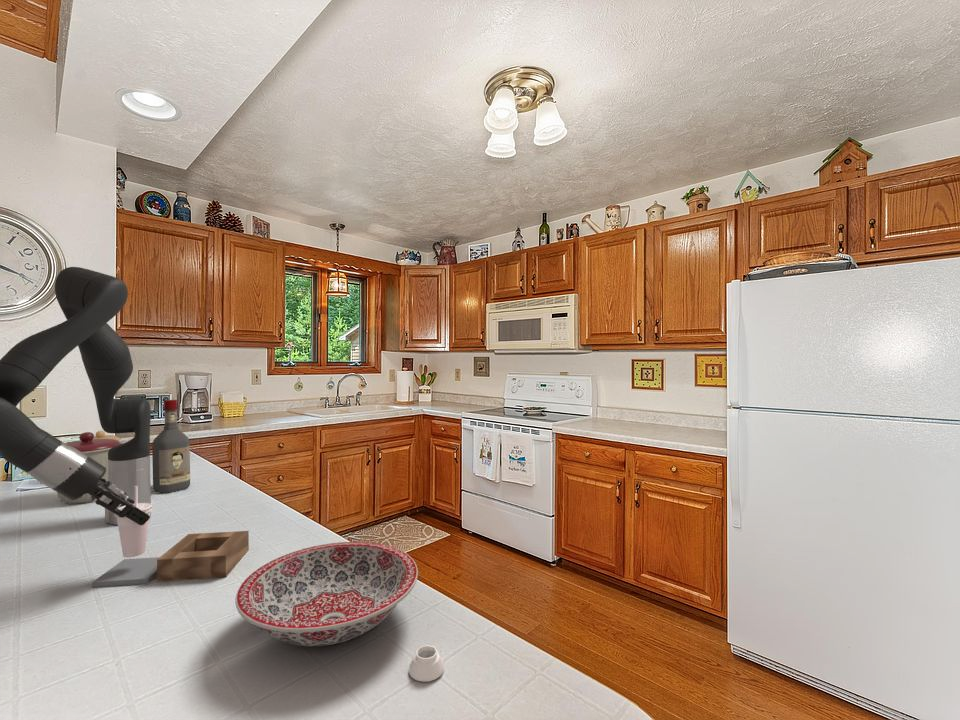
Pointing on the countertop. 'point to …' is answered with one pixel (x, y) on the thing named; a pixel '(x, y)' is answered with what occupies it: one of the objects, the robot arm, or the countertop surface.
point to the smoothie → (133, 530)
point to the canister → (95, 451)
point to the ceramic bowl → (326, 592)
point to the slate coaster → (129, 573)
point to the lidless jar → (426, 664)
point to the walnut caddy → (203, 556)
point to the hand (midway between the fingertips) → (143, 516)
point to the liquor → (171, 454)
